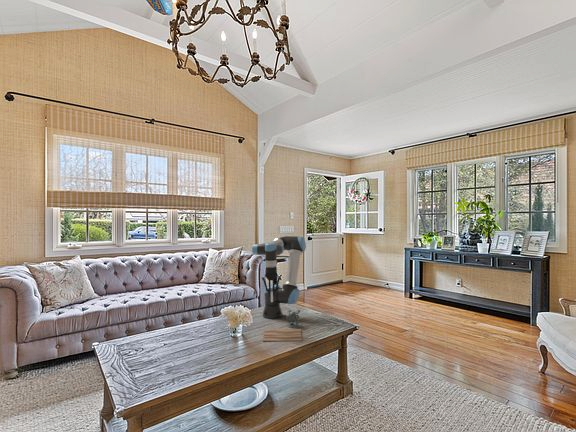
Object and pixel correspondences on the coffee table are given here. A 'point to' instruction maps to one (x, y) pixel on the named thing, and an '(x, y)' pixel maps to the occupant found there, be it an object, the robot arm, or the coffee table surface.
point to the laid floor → (282, 338)
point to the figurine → (293, 319)
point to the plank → (282, 332)
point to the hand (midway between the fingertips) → (271, 301)
